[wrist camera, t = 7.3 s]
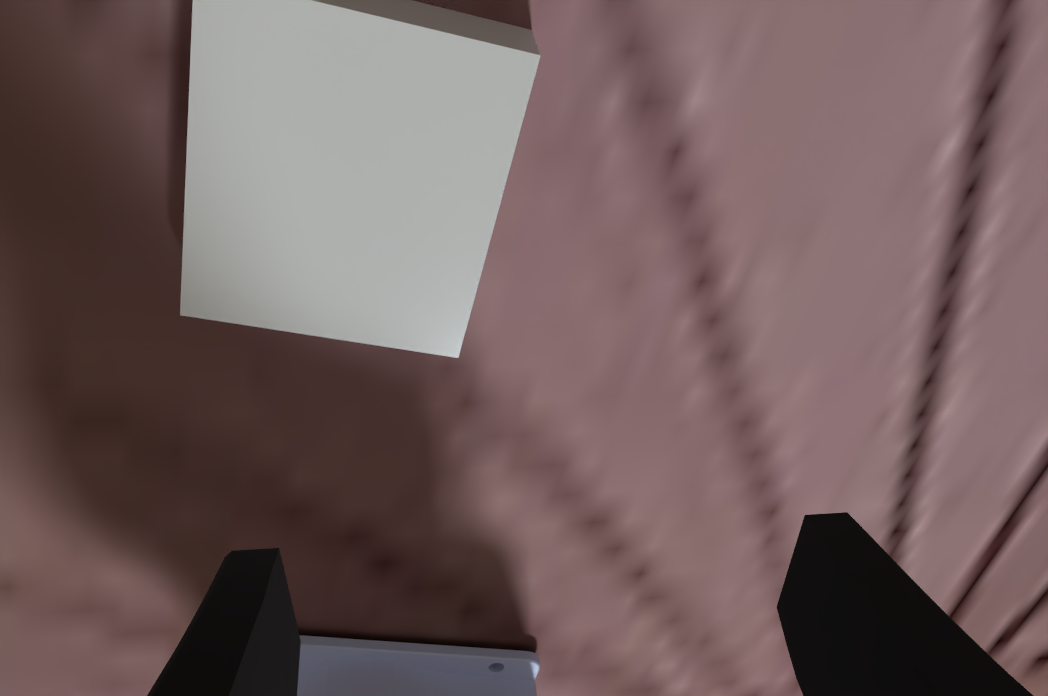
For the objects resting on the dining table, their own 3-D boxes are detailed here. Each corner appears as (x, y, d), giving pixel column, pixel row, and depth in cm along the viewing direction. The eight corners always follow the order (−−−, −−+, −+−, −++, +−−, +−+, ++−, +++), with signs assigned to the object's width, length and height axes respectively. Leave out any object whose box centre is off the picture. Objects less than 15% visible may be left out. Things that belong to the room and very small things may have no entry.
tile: (529, 23, 17) (540, 54, 16) (455, 308, 21) (458, 357, 19) (217, -55, 16) (194, -28, 14) (199, 266, 20) (180, 315, 18)
